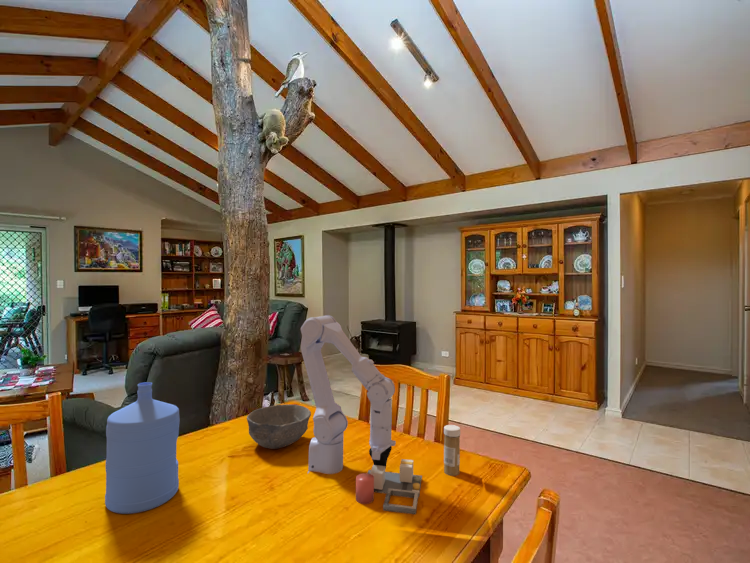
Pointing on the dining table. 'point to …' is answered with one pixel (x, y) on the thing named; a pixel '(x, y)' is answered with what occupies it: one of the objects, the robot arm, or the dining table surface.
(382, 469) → the toggle
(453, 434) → the sprinkles bottle
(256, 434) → the bowl
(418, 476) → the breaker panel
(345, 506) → the dining table surface
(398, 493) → the frame
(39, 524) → the dining table surface
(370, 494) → the cap
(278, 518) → the dining table surface
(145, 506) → the water jug
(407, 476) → the toggle
